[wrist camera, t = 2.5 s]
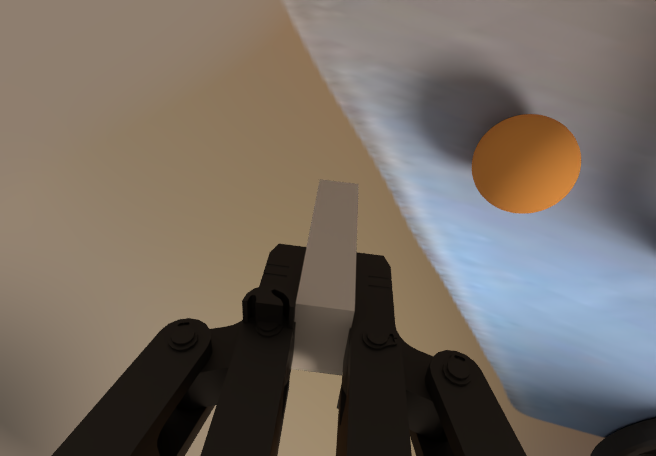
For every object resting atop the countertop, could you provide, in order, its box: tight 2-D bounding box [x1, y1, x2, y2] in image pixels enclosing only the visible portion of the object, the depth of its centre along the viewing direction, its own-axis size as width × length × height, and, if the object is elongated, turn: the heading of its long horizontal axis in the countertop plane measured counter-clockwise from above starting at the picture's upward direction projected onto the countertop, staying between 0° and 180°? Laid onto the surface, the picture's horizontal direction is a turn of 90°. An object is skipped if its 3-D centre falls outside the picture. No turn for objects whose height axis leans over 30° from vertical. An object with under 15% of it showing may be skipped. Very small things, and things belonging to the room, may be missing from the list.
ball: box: [472, 114, 581, 213], centre depth 22 cm, size 6×6×6 cm
